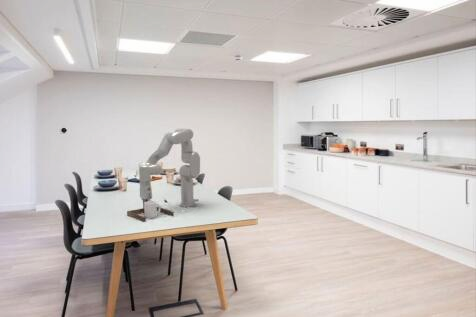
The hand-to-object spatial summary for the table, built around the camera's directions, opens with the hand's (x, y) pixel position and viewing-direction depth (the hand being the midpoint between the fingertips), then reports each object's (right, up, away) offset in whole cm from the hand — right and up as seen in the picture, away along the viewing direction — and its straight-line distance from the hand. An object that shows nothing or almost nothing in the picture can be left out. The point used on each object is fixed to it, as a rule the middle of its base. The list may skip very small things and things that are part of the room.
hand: (145, 208), depth 257 cm
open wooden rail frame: (+4, -5, -4) cm, 7 cm away
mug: (+7, -5, -7) cm, 11 cm away
